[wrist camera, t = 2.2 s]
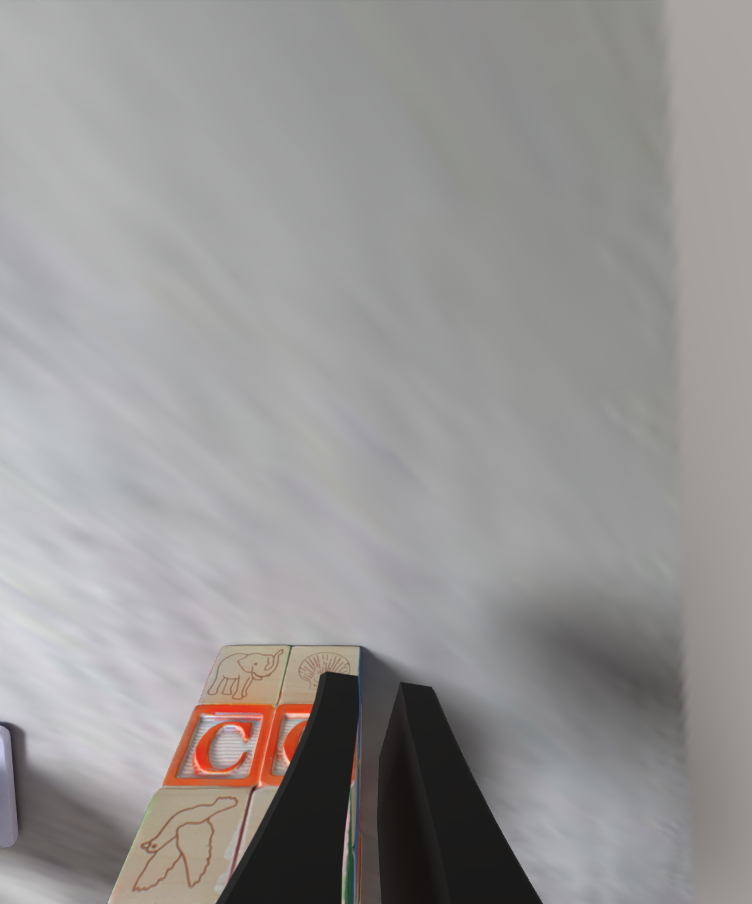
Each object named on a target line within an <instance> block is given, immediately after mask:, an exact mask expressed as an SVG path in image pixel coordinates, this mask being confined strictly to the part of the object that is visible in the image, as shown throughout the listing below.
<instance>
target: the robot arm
mask: <svg viewBox="0 0 752 904" xmlns="http://www.w3.org/2000/svg"><path fill="white" fill-rule="evenodd" d="M358 719H359V685H358V676H356V675H349V674H342V673H336V672H329V671H326V672H325V673H323V674H321V675H320V678H319V682H318V687H317V692H316V697H315V701H314V704H313V707H312V710H311V713H310V716H309V718H308V721H307V724H306V726H305V729H304V732H303V734H302V737H301V739H300V741H299V744H298V746H297V748H296V750H295V753H294V755H293V757H292V760H291V762H290V764H289V766H288V769H287V771H286V773H285V775H284V777H283V780H282V782H281V784H280V786H279V788H278V790H277V792H276V794H275V796H274V798H273V800H272V802H271V804H270V805H269V807H268V809H267V811H266V813H265V815H264V817H263V819H262V821H261V823H260V825H259V827H258V829H257V831H256V833H255V835H254V837H253V838H252V840H251V842H250V844H249V846H248V848H247V849H246V851H245V853H244V855H243V857H242V858H241V860H240V862H239V864H238V866H237V867H236V869H235V871H234V873H233V874H232V876H231V878H230V880H229V881H228V883H227V885H226V886H225V888H224V890H223V892H222V893H221V895H220V897H219V898H218V900H217V902H216V903H215V904H342V868H343V854H344V841H345V830H346V821H347V813H348V804H349V796H350V787H351V779H352V770H353V762H354V753H355V745H356V736H357V727H358ZM377 828H378V847H379V865H380V883H381V901H382V904H543V903H542V901H541V900H540V898H539V896H538V895H537V893H536V891H535V890H534V888H533V886H532V885H531V883H530V881H529V879H528V878H527V876H526V874H525V872H524V871H523V869H522V867H521V865H520V864H519V862H518V860H517V858H516V857H515V855H514V853H513V851H512V850H511V848H510V846H509V844H508V842H507V841H506V839H505V837H504V835H503V833H502V831H501V830H500V828H499V826H498V824H497V822H496V820H495V818H494V817H493V815H492V813H491V811H490V809H489V807H488V805H487V803H486V801H485V799H484V797H483V795H482V793H481V791H480V789H479V787H478V785H477V783H476V781H475V779H474V777H473V775H472V773H471V771H470V769H469V767H468V765H467V763H466V761H465V759H464V757H463V755H462V752H461V750H460V748H459V746H458V744H457V742H456V740H455V737H454V735H453V733H452V731H451V728H450V726H449V724H448V722H447V719H446V717H445V715H444V712H443V710H442V708H441V705H440V703H439V701H438V698H437V696H436V693H435V692H434V690H433V689H432V687H429V686H422V685H416V684H409V683H402V682H400V685H399V689H398V693H397V696H396V700H395V703H394V707H393V711H392V714H391V718H390V721H389V725H388V729H387V732H386V736H385V739H384V743H383V746H382V750H381V754H380V757H379V778H378V808H377ZM17 838H18V825H17V813H16V800H15V788H14V776H13V763H12V751H11V738H10V733H9V731H8V730H7V728H5V727H3V726H0V847H1V848H8V847H11V846H12V845H13V844H14V843H15V841H16V840H17Z"/></svg>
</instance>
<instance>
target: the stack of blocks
mask: <svg viewBox="0 0 752 904" xmlns="http://www.w3.org/2000/svg"><path fill="white" fill-rule="evenodd" d="M326 671H329V672H336V673H342V674H349V675H356V676H358V685H359V719H358V727H357V736H356V745H355V753H354V762H353V770H352V779H351V787H350V796H349V804H348V813H347V821H346V830H345V841H344V854H343V868H342V904H361V881H362V833H361V832H360V789H361V754H362V703H361V649H360V647H355V646H294V647H290V646H288V645H263V646H255V645H240V646H223V647H221V650H220V652H219V654H218V656H217V658H216V661H215V663H214V665H213V668H212V670H211V672H210V674H209V677H208V679H207V682H206V685H205V687H204V689H203V692H202V695H201V698H200V700H199V703H198V705H197V706H195V708H194V710H193V712H192V714H191V717H190V719H189V722H188V724H187V726H186V729H185V731H184V734H183V736H182V738H181V741H180V743H179V745H178V748H177V750H176V752H175V755H174V757H173V759H172V762H171V764H170V767H169V769H168V772H167V774H166V777H165V779H164V782H163V786H162V788H161V789H159V790H158V791H157V792H156V793H155V794H154V796H153V798H152V800H151V803H150V805H149V807H148V809H147V811H146V814H145V816H144V819H143V821H142V824H141V826H140V828H139V830H138V832H137V834H136V837H135V839H134V842H133V844H132V846H131V849H130V851H129V853H128V856H127V858H126V860H125V863H124V865H123V867H122V870H121V872H120V874H119V877H118V879H117V881H116V884H115V886H114V888H113V891H112V893H111V896H110V898H109V901H108V903H107V904H215V903H216V902H217V900H218V898H219V897H220V895H221V893H222V892H223V890H224V888H225V886H226V885H227V883H228V881H229V880H230V878H231V876H232V874H233V873H234V871H235V869H236V867H237V866H238V864H239V862H240V860H241V858H242V857H243V855H244V853H245V851H246V849H247V848H248V846H249V844H250V842H251V840H252V838H253V837H254V835H255V833H256V831H257V829H258V827H259V825H260V823H261V821H262V819H263V817H264V815H265V813H266V811H267V809H268V807H269V805H270V804H271V802H272V800H273V798H274V796H275V794H276V792H277V790H278V788H279V786H280V784H281V782H282V780H283V777H284V775H285V773H286V771H287V769H288V766H289V764H290V762H291V760H292V757H293V755H294V753H295V750H296V748H297V746H298V744H299V741H300V739H301V737H302V734H303V732H304V729H305V726H306V724H307V721H308V718H309V716H310V713H311V710H312V707H313V704H314V701H315V697H316V692H317V687H318V682H319V678H320V675H321V674H323V673H325V672H326Z"/></svg>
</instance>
